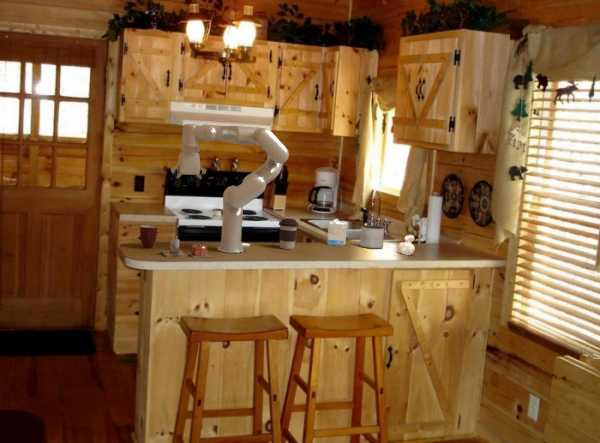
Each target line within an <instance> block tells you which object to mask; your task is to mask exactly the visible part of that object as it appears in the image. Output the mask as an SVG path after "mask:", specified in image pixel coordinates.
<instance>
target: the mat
mask: <svg viewBox="0 0 600 443" xmlns="http://www.w3.org/2000/svg"><path fill="white" fill-rule="evenodd" d="M187 254H188V256H190V257H192V259H193V258H198V259H199V258H200V259H201V257H210V258H211V256H210V255H208V254H207V256H193V255H191V253H187Z"/></svg>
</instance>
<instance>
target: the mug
mask: <svg viewBox="0 0 600 443" xmlns="http://www.w3.org/2000/svg"><path fill="white" fill-rule="evenodd" d="M139 234H140V240H141V241H140V242H141V244H142V246H143V248H146V249H152V248H153V247H154V244H155V243H156V241H157V240H156V239H157V235H158V226H156V225H149V224H145V225H140V227H139Z"/></svg>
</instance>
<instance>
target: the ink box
mask: <svg viewBox="0 0 600 443" xmlns="http://www.w3.org/2000/svg"><path fill="white" fill-rule="evenodd" d="M347 226H348V223H347V222H341V221H340V220H339V219H338V218H335V219H333V221H331V222H328V229H327V242H326V244H327V245H330V246H344V245H346V240H347Z"/></svg>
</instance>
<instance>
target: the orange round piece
mask: <svg viewBox="0 0 600 443" xmlns="http://www.w3.org/2000/svg"><path fill="white" fill-rule="evenodd" d="M190 254H191V255H193V256H207V255H208V246H207V245H204V244H193V245H192V246H191V252H190Z"/></svg>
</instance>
